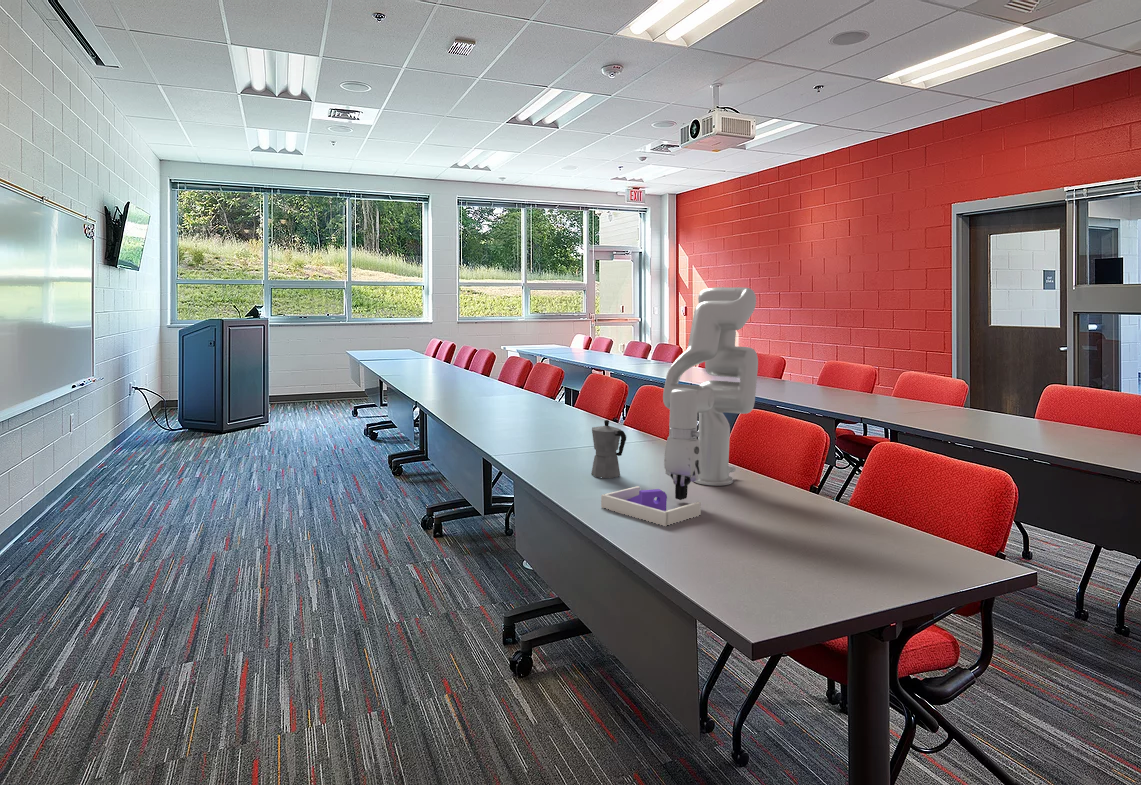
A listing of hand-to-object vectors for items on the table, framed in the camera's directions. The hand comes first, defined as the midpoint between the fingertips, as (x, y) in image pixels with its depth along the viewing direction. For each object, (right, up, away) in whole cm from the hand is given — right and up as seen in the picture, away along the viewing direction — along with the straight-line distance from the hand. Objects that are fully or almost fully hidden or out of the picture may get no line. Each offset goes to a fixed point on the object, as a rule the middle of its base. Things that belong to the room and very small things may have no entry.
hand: (681, 498), depth 195 cm
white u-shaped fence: (-9, -2, -9) cm, 13 cm away
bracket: (-11, -2, -7) cm, 13 cm away
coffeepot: (-19, +2, +30) cm, 36 cm away
